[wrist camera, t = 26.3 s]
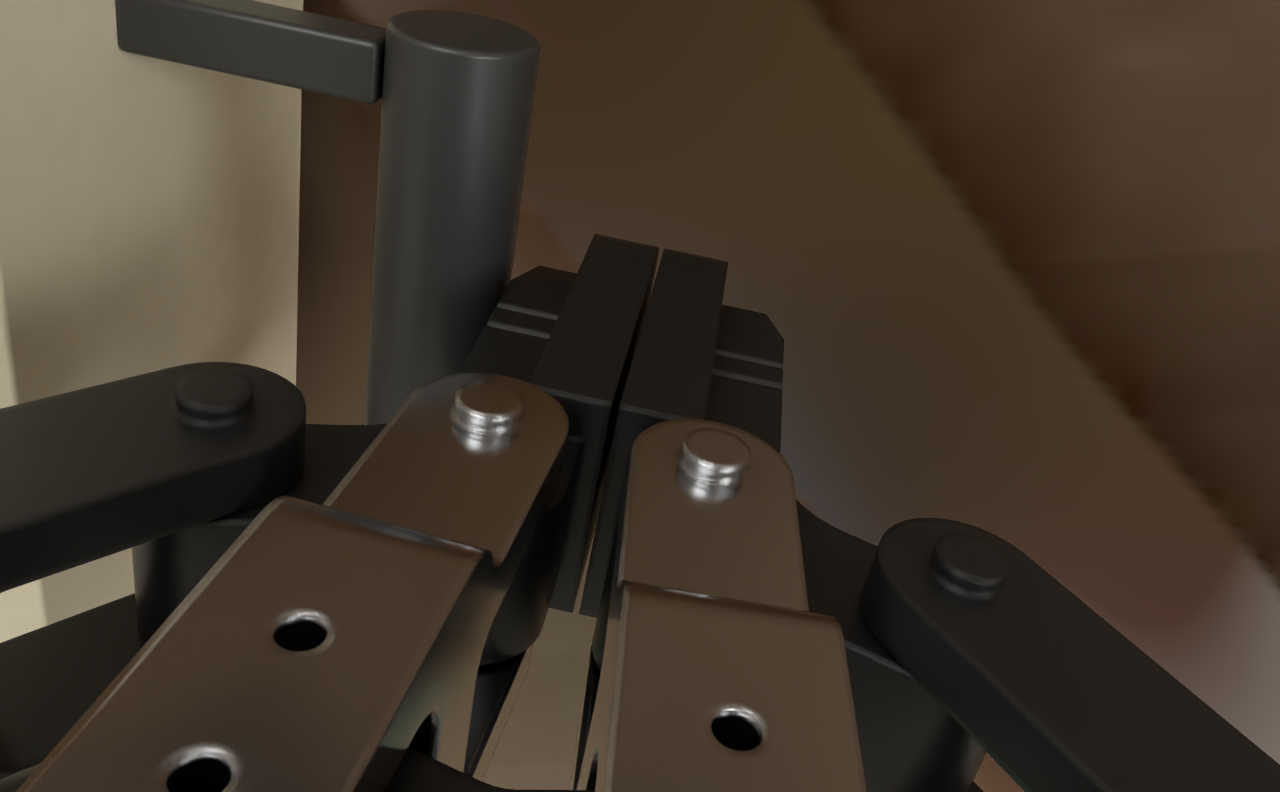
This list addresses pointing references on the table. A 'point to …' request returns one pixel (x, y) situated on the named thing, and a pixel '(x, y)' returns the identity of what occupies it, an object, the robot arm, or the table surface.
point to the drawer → (237, 200)
